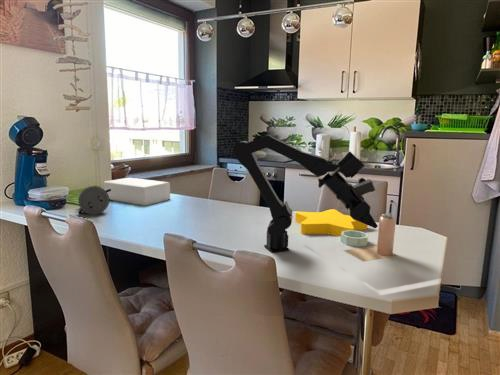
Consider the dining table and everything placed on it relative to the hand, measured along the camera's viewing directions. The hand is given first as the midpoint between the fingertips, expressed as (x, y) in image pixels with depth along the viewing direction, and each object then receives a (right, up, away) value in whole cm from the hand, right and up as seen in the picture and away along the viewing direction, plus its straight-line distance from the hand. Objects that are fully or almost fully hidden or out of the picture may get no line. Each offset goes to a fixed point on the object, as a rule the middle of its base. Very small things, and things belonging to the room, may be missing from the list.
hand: (373, 223), depth 115 cm
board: (-1, -11, +2) cm, 11 cm away
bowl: (-3, -9, +12) cm, 15 cm away
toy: (-111, 0, +51) cm, 123 cm away
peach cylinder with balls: (+4, -10, +1) cm, 11 cm away
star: (-6, -6, +32) cm, 34 cm away
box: (-101, +5, +81) cm, 129 cm away
